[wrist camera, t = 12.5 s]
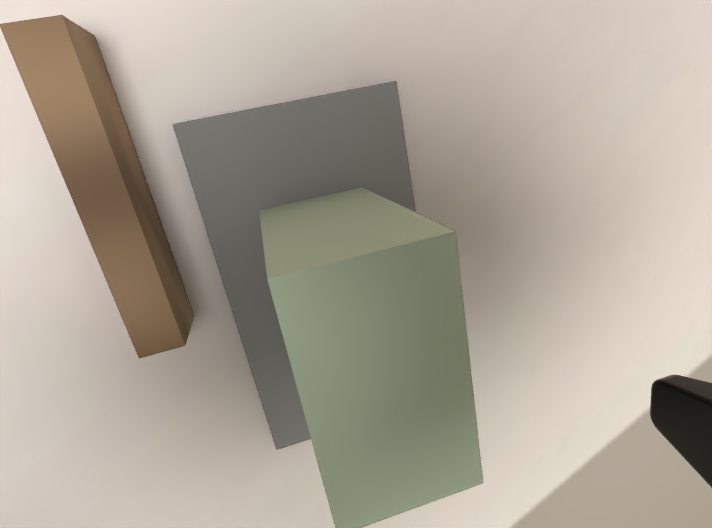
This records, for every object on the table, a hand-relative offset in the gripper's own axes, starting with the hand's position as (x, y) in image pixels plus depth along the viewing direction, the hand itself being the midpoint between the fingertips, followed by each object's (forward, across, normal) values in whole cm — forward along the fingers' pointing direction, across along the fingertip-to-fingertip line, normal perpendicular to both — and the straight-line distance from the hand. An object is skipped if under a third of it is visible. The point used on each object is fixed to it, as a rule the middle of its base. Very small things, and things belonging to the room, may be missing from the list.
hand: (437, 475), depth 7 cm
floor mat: (+11, 0, 0) cm, 11 cm away
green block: (+10, 0, 0) cm, 11 cm away
